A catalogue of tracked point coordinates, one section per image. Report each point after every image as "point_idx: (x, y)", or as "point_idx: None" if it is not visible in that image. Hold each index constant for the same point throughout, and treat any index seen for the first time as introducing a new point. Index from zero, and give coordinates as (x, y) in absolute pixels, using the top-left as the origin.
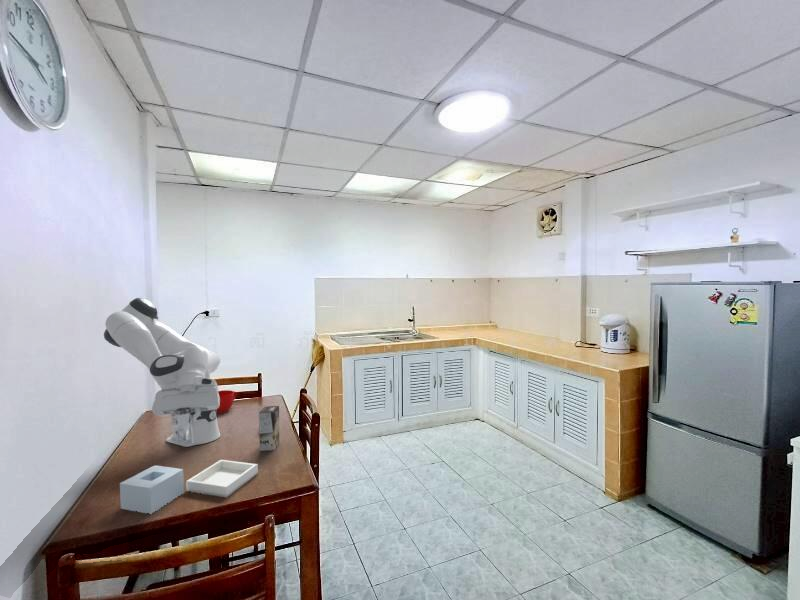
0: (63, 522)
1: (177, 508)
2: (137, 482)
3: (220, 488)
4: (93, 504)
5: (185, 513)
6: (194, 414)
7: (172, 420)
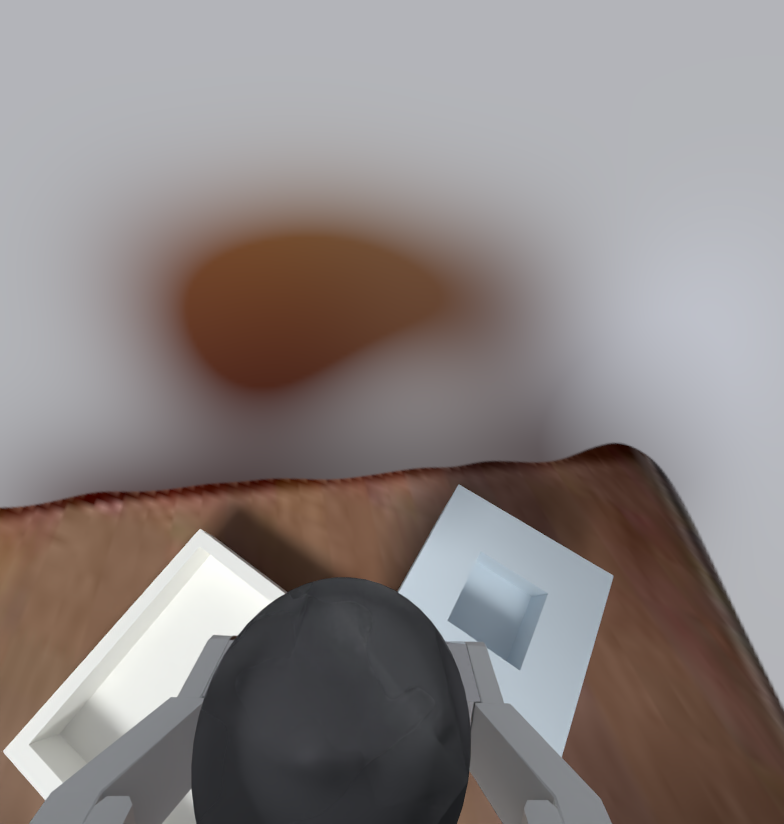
0: (696, 555)
1: (370, 521)
2: (537, 556)
3: (224, 546)
4: (691, 662)
5: (339, 482)
6: (176, 723)
7: (485, 670)
